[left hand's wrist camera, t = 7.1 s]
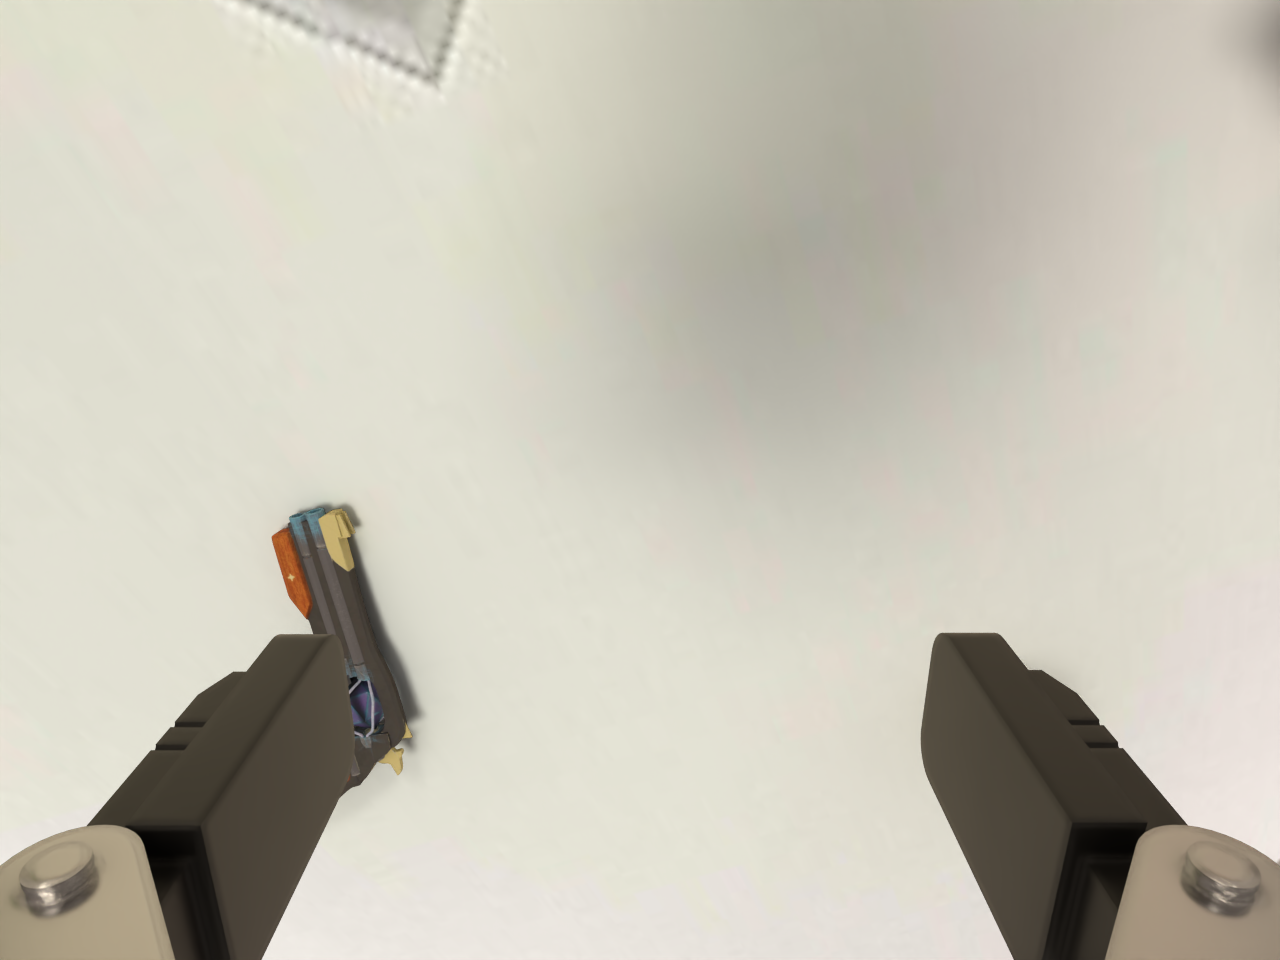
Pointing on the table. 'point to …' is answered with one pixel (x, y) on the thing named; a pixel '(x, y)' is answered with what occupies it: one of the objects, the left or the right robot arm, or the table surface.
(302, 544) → the toy gun
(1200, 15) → the table surface
